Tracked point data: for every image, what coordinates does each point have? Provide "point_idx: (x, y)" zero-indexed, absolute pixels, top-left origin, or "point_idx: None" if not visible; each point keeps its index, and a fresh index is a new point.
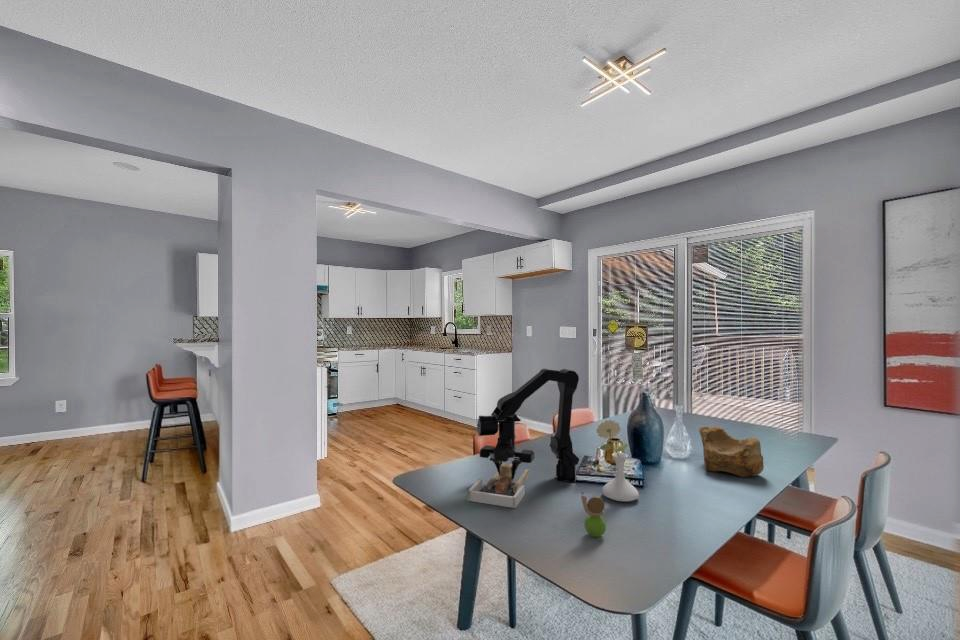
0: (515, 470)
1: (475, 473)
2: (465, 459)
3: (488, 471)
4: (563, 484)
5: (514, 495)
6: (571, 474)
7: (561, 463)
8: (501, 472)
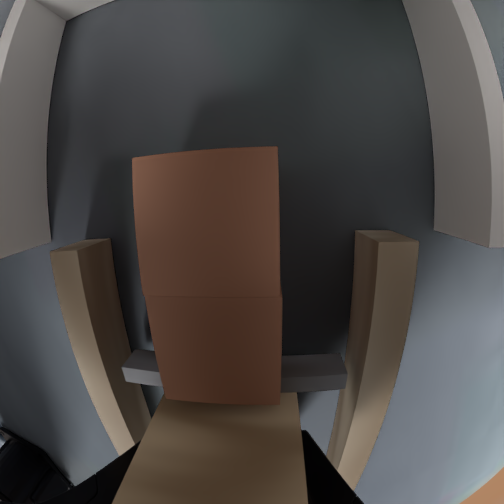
0: (96, 482)
1: (475, 431)
2: (483, 484)
3: (407, 480)
4: (7, 412)
5: (19, 12)
6: (1, 452)
7: (4, 492)
8: (277, 463)
